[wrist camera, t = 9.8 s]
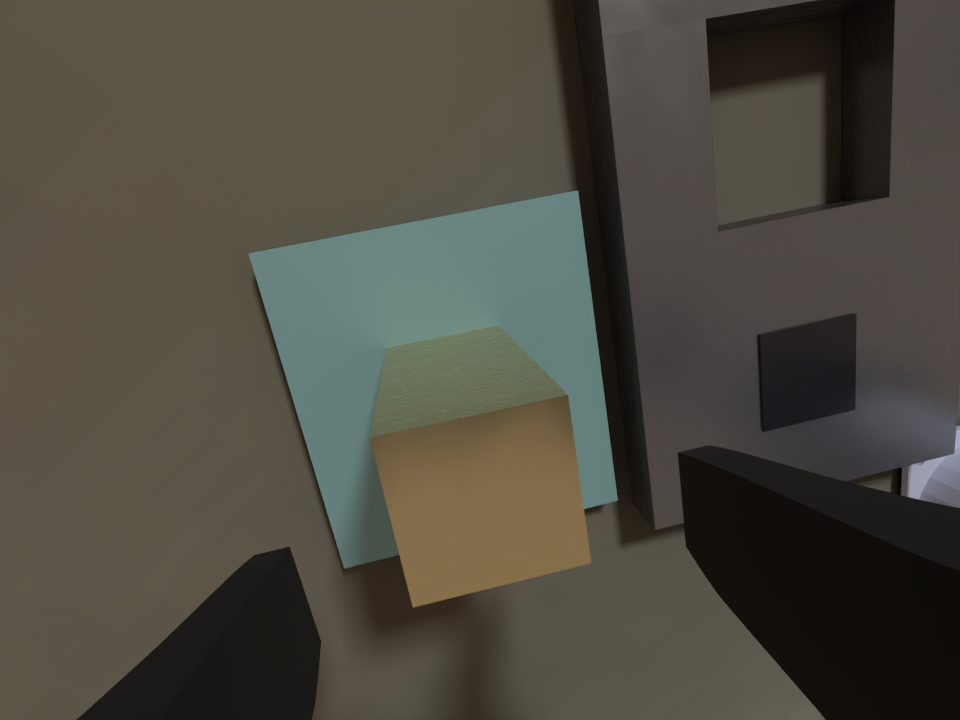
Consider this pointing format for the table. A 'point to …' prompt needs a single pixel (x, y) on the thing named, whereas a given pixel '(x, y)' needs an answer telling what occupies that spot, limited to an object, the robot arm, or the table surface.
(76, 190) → the table surface
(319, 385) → the pad
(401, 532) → the wooden block
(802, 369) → the grey square-hole board
